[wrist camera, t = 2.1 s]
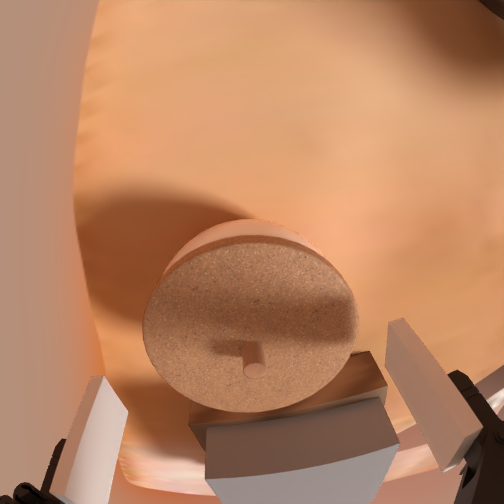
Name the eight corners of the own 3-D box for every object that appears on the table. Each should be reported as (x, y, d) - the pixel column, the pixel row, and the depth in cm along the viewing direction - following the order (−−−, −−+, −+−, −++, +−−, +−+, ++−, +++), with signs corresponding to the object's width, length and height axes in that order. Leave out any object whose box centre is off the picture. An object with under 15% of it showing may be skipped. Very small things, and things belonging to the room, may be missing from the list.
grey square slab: (379, 396, 22) (400, 443, 17) (360, 467, 27) (371, 502, 23) (206, 426, 22) (204, 479, 17) (238, 489, 27) (240, 525, 23)
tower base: (367, 347, 26) (387, 385, 21) (359, 436, 32) (370, 467, 28) (193, 381, 26) (188, 424, 22) (233, 461, 33) (234, 493, 28)
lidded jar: (341, 218, 20) (409, 285, 12) (295, 343, 24) (320, 438, 16) (181, 182, 19) (140, 233, 10) (161, 321, 23) (134, 418, 14)
